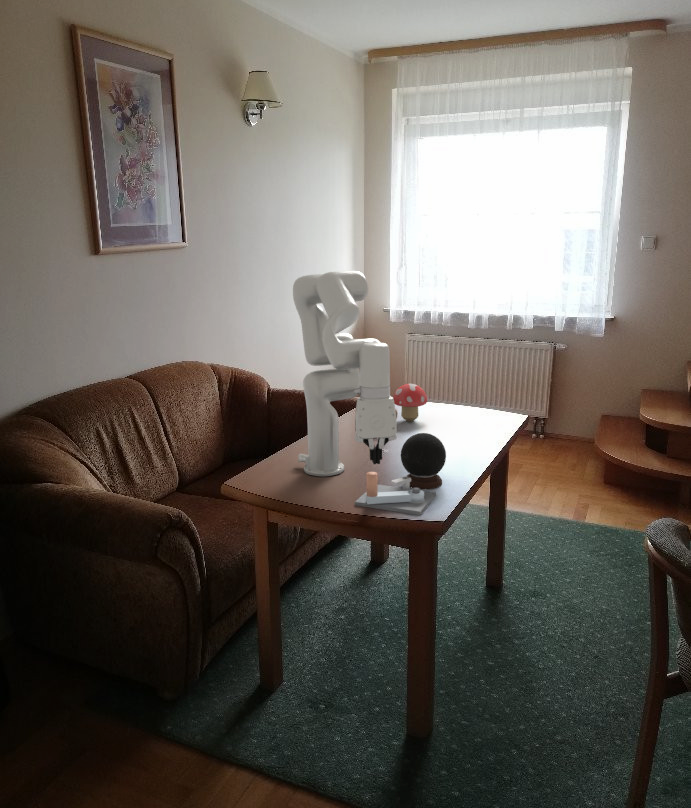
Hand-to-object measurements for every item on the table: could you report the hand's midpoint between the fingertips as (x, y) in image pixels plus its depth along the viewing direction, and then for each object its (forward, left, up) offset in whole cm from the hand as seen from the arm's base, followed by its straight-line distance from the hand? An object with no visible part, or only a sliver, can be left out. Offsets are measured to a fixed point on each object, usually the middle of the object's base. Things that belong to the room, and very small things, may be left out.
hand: (376, 462), depth 173 cm
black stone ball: (+4, +28, -15) cm, 32 cm away
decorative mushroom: (-21, +90, -15) cm, 94 cm away
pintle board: (+1, +12, -15) cm, 19 cm away
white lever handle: (+2, +9, -13) cm, 16 cm away
